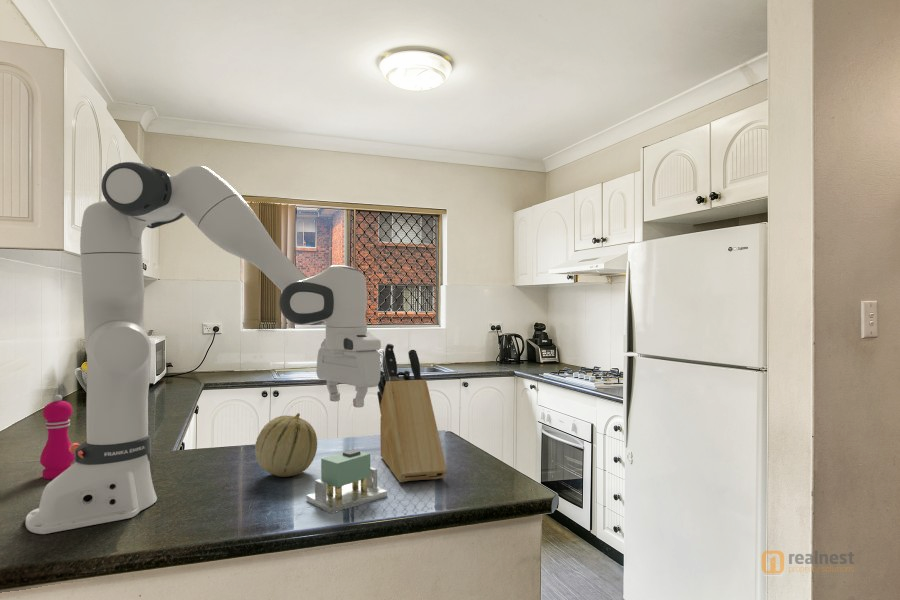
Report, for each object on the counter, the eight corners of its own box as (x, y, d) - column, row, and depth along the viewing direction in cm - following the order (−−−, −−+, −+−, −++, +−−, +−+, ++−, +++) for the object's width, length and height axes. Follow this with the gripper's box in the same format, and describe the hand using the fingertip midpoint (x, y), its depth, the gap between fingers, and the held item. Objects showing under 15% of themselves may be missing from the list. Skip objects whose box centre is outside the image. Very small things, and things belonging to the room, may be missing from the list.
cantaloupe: (243, 476, 133) (243, 415, 133) (295, 462, 144) (294, 406, 144) (277, 489, 123) (277, 423, 123) (330, 473, 134) (329, 413, 134)
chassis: (330, 513, 109) (330, 487, 109) (306, 500, 116) (306, 476, 116) (387, 496, 119) (387, 472, 119) (361, 485, 126) (361, 462, 126)
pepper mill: (72, 468, 140) (72, 391, 140) (78, 475, 135) (78, 394, 135) (37, 475, 135) (37, 394, 135) (42, 482, 130) (42, 398, 130)
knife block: (412, 445, 161) (411, 341, 161) (448, 483, 127) (447, 351, 127) (374, 448, 157) (373, 342, 157) (400, 488, 124) (400, 352, 124)
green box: (337, 487, 112) (337, 460, 112) (321, 482, 116) (321, 455, 116) (370, 476, 119) (370, 451, 119) (354, 471, 123) (354, 446, 123)
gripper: (309, 338, 123) (309, 399, 123) (360, 343, 108) (360, 412, 108) (333, 337, 127) (333, 396, 127) (385, 341, 112) (385, 408, 112)
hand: (346, 404), depth 117 cm, fingers open, 8 cm apart
